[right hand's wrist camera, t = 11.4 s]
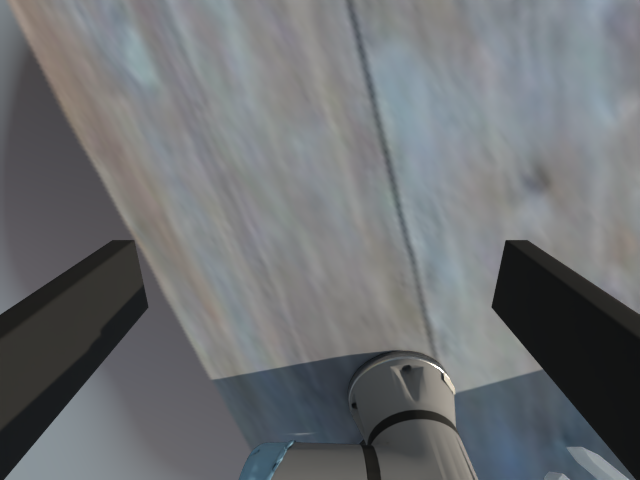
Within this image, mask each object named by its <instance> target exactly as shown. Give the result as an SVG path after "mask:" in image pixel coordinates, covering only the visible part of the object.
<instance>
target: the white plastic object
mask: <svg viewBox="0 0 640 480" xmlns="http://www.w3.org/2000/svg"><path fill="white" fill-rule="evenodd" d="M566 448H567V449H568V451H569V452H570V453H571V455H572V456H573V458H574V459H575V460H576V462H578V463H579V464H580V465H581V466H582V467H583V468H585V469H586V470H587V471H588V472H589V473H591V474H592V475H593V476H594V477H595V478H596V479H598V480H629V479H628V478H627V477H625V476H624V475H623V474H622V473H620V472H619V471H618V470H617V469H615V468H614V467H613V466H612V465H611V464H609V463H608V462H607V461H606V460H604V459H603V458H602V457H601V456H599V455H598V454H596V453H594V452H592V451H589V450H587V449H585V448H583V447H566ZM544 479H545V480H570V479H569V478H568V477H566V476H565V475H564V474H563V473H556V472H548V473H547V475H546V476H545V477H544Z"/></svg>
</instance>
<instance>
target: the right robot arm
mask: <svg viewBox="0 0 640 480" xmlns="http://www.w3.org/2000/svg"><path fill="white" fill-rule="evenodd" d="M147 308H148V303H147V298H146V293H145V289H144V284H143V279H142V274H141V270H140V265H139V260H138V256H137V251H136V246H135V241H134V240H112V241H111V242H109V243H108V244H106V245H105V246H103V247H102V248H100V249H99V250H97V251H96V252H94V253H93V254H91V255H90V256H88V257H87V258H85V259H84V260H82V261H81V262H79V263H78V264H76V265H75V266H73V267H72V268H70V269H69V270H67V271H66V272H64V273H62V274H61V275H59V276H58V277H56V278H55V279H53V280H52V281H50V282H49V283H47V284H46V285H44V286H43V287H41V288H40V289H38V290H37V291H35V292H34V293H32V294H31V295H29V296H28V297H26V298H25V299H23V300H22V301H20V302H19V303H17V304H16V305H14V306H13V307H11V308H10V309H8V310H7V311H5V312H4V313H2V314H1V315H0V480H4V479H5V478H6V477H7V475H8V474H9V473H10V472H11V471H12V469H13V468H14V467H15V466H16V465H17V463H18V462H19V461H20V460H21V459H22V457H23V456H24V455H25V454H26V453H27V452H28V450H29V449H30V448H31V447H32V446H33V444H34V443H35V442H36V441H37V440H38V438H39V437H40V436H41V435H42V434H43V432H44V431H45V430H46V429H47V428H48V426H49V425H50V424H51V423H52V422H53V420H54V419H55V418H56V417H57V416H58V415H59V413H60V412H61V411H62V410H63V409H64V407H65V406H66V405H67V404H68V403H69V401H70V400H71V399H72V398H73V397H74V395H75V394H76V393H77V392H78V391H79V390H80V388H81V387H82V386H83V385H84V383H85V382H86V381H87V380H88V379H89V378H90V376H91V375H92V374H93V373H94V372H95V370H96V369H97V368H98V367H99V366H100V364H101V363H102V362H103V361H104V360H105V358H106V357H107V356H108V355H109V354H110V353H111V351H112V350H113V349H114V348H115V347H116V345H117V344H118V343H119V342H120V340H121V339H122V338H123V337H124V336H125V335H126V333H127V332H128V331H129V330H130V329H131V327H132V326H133V325H134V324H135V323H136V321H137V320H138V319H139V318H140V317H141V315H142V314H143V313H144V312H145V311H146V310H147ZM492 308H493V310H494V311H495V312H496V313H497V314H498V316H499V317H500V318H501V319H502V320H503V321H504V323H505V324H506V325H507V326H508V327H509V329H510V330H511V331H512V332H513V333H514V335H515V336H516V337H517V338H518V339H519V341H520V342H521V343H522V344H523V345H524V347H525V348H526V349H527V350H528V351H529V353H530V354H531V355H532V356H533V357H534V358H535V360H536V361H537V362H538V363H539V364H540V366H541V367H542V368H543V369H544V370H545V372H546V373H547V374H548V375H549V376H550V378H551V379H552V380H553V381H554V382H555V384H556V385H557V386H558V387H559V388H560V390H561V391H562V392H563V393H564V394H565V395H566V397H567V398H568V399H569V400H570V401H571V403H572V404H573V405H574V406H575V407H576V409H577V410H578V411H579V412H580V413H581V415H582V416H583V417H584V418H585V419H586V421H587V422H588V423H589V424H590V425H591V427H592V428H593V429H594V430H595V431H596V432H597V434H598V435H599V436H600V437H601V438H602V440H603V441H604V442H605V443H606V444H607V446H608V447H609V448H610V449H611V450H612V452H613V453H614V454H615V455H616V456H617V458H618V459H619V460H620V461H621V462H622V463H623V465H624V466H625V467H626V468H627V469H628V471H629V472H630V473H631V474H632V475H633V477H634V478H635V479H636V480H640V314H638V313H636V312H635V311H633V310H632V309H630V308H629V307H627V306H626V305H624V304H623V303H621V302H620V301H618V300H617V299H615V298H614V297H612V296H611V295H609V294H608V293H606V292H605V291H603V290H602V289H600V288H599V287H597V286H596V285H594V284H593V283H591V282H590V281H588V280H587V279H585V278H584V277H582V276H581V275H579V274H578V273H576V272H574V271H573V270H571V269H570V268H568V267H567V266H565V265H564V264H562V263H561V262H559V261H558V260H556V259H555V258H553V257H552V256H550V255H549V254H547V253H546V252H544V251H543V250H541V249H540V248H538V247H537V246H535V245H534V244H532V243H531V242H529V241H528V240H506V241H505V246H504V251H503V256H502V260H501V265H500V270H499V274H498V279H497V284H496V289H495V293H494V298H493V303H492ZM454 394H455V387H454V386H453V384H452V383H451V381H450V379H449V377H448V375H447V373H446V371H445V369H444V368H443V367H442V366H441V365H440V364H439V363H438V362H437V361H436V360H434V359H433V358H431V357H429V356H427V355H424V354H421V353H417V352H411V351H395V352H389V353H385V354H382V355H379V356H377V357H375V358H372V359H371V360H369V361H367V362H366V363H365V364H363V365H362V366H361V367H360V368H359V369H358V370H357V371H356V373H355V374H354V375H353V377H352V379H351V381H350V384H349V388H348V401H349V408H350V412H351V414H352V417H353V419H354V421H355V423H356V425H357V427H358V429H359V431H360V433H361V435H362V437H363V439H364V440H363V441H362V442H361V443H360V444H329V443H300V442H296V441H294V440H291V441H289V442H277V443H263V444H261V445H259V446H257V447H256V448H255V449H254V450H253V451H252V452H251V454H250V455H249V457H248V459H247V461H246V463H245V465H244V467H243V469H242V472H241V475H240V478H239V480H478V478H477V476H476V473H475V471H474V469H473V466H472V464H471V462H470V459H469V457H468V455H467V452H466V450H465V448H464V445H463V443H462V441H461V439H460V436H459V434H458V431H457V429H456V420H455V402H454ZM366 444H367V445H366Z"/></svg>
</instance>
